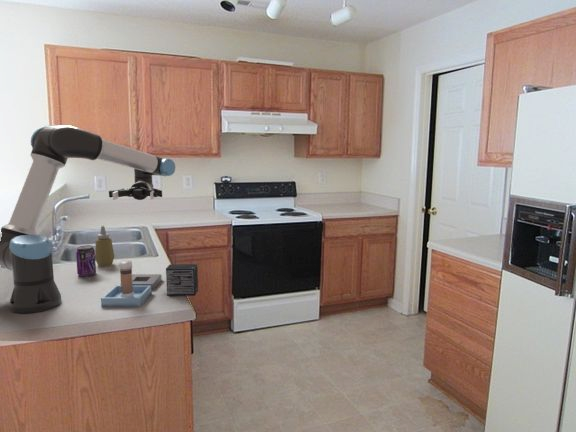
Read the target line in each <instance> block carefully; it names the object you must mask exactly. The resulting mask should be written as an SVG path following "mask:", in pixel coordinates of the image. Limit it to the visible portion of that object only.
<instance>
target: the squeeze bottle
mask: <svg viewBox="0 0 576 432" xmlns="http://www.w3.org/2000/svg"><path fill="white" fill-rule="evenodd" d="M99 232H100V233H99V234H97V239H96V240H95V249H94V250H95V263H96V264H97V266H98V267H101V268H105V267H109V266H112V265H113V263H114V260H115V252H114V248H113V247H114V246H113V240H112V239H111V238H110V234H109V233H107V231H106V228H105V226H104V225H101V226H100V231H99Z"/></svg>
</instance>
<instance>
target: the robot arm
mask: <svg viewBox="0 0 576 432" xmlns="http://www.w3.org/2000/svg"><path fill="white" fill-rule="evenodd" d="M30 145H31V147H32V148H31V149H32V150H31V153H30V157H31V159H32V163H31V166H30V168H29V170H28V173H27V176H26V178H25V181H24V184H23V185H22V189H21V192H20V193H19V196H18V199H17V201H16V204H15V206H14V209H13V211H12V214H11V217H10V220H9V221H8V223H7V224H4V225H3V226H1V228H0V230H1V232H2V237H1V241H0V265H1V267H0V268H2V269H6V270H10V271H12V281H13V289H12V292H11V296H10V300H9V310H10V312H12V313H17V314H33V313H37V312H38V313H39V312H43V311H48V310H51V309H54V308H55V307H57V306H59V305H60V304H61V303H62V293H60V290H59V288H58V285H57V283H56V282H55V279H54V278H55V275H54V264H53V254H52V253H53V247H52V244H51V243H52V242H51V240H50V239H49V238H48V237H47V236H44V235H40V234H38V233H37V228H38V225H39V223H40V220H41V218H42V214H43V213H44V209H45V207H46V203H47V201H48V198H49V197H50V193H51V191H52V189H53V186H54V183H55V181H56V178H57V175H58V172H59V170H60V169H63V168H64V167H66V164H67V161H68V159H86V160H90V161H96V160H101V161H104V162H108V163H112V164H116V165H120V166H122V167H127V168H130V169H133V172H134V173H133V174H134V183H133V184H132V185H131V187H129V188H128V187H127V188H119V189H115V190H108V197H109V198H112V200H113V201H116V200H117V199H119V198H120V197H129V198H133V199H134V200H137V201H142V200H145V199H147V197H150V200H154V198H158V197H159V198H162V197H163V190H162V189H161V190H160V189H158V188H154V184H153V176H162V177H171V176H172V175H173V174H175V172H176V163H175V161H174V160H173V159H171V158H167V157H160V156H156V155H154V154H151V153H150V152H149V153H148V152H143V151H141V150H138V149H134V148H131V147H128V146H125V145H121V144H118V143H115V142H112V141H109V140H105V139H103V138H102V136H101V135H99V134H96V133H93V132H91V131H87V130H85V129H83V128H79V127H76V126H74V125H73V126H72V125H68V124H65V125H63V124H62V125H54V124H53V125H50V124H49V125H44V126H40V127H38V128H37V129H36V130H34V132H33V133H32V135H31V137H30Z"/></svg>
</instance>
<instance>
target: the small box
mask: <svg viewBox="0 0 576 432" xmlns="http://www.w3.org/2000/svg"><path fill="white" fill-rule="evenodd" d="M165 272H166V273H165V274H166V296H167V297H185V296H186V297H188V296H189V297H195V296H196V295H197V294H198V291H199V276H198V264H197V263H190V264H189V263H187V264H186V263H185V264H184V263H183V264H181V263H179V264H177V263H176V264H175V263H173V264H171V263H170V264H168V265H167V267H166V268H165Z"/></svg>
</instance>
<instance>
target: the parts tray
mask: <svg viewBox="0 0 576 432" xmlns="http://www.w3.org/2000/svg"><path fill="white" fill-rule="evenodd" d="M133 292H134V297H121V285H115V286H113V287H112V288H111V289H110V290H108V291H107V292H106V293H105V294H104V295H103V296H101V298H100V304H101V305H100V307H101V308H102V307H104V308H105V307H106V308H109V307H110V308H111V307H113V308H117V307H119V308H122V307H124V308H126V307H128V308H132V307H133V308H134V307H135V308H137V307H138V308H141V306H142V305H144V303H145V302H146V301H147V299H148V298H149V297H150V296H151V295H152V290H151V286H133Z"/></svg>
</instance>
